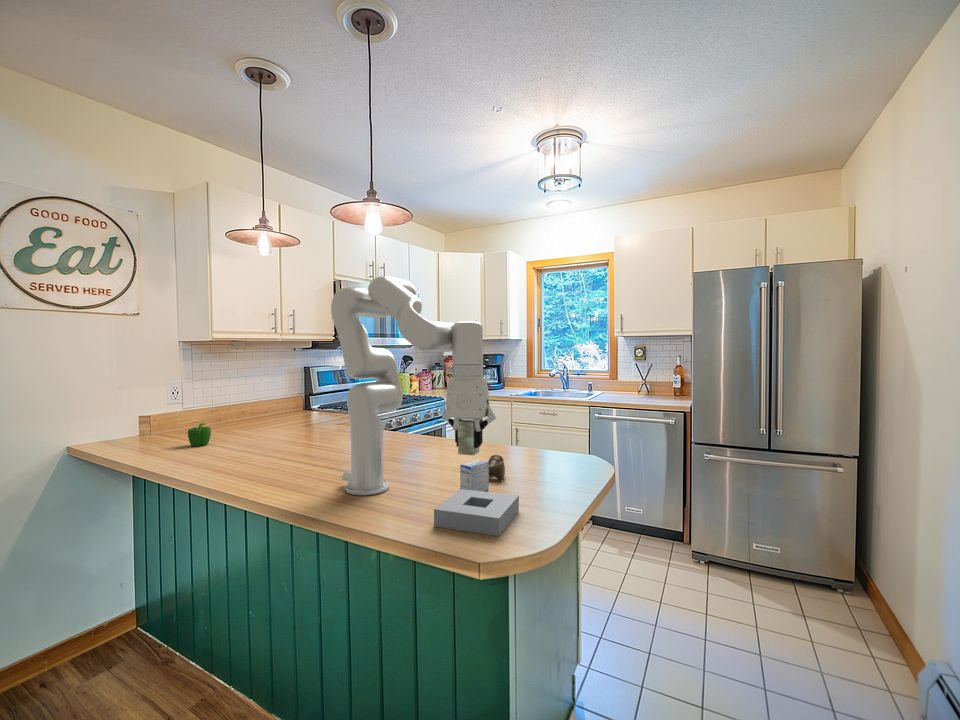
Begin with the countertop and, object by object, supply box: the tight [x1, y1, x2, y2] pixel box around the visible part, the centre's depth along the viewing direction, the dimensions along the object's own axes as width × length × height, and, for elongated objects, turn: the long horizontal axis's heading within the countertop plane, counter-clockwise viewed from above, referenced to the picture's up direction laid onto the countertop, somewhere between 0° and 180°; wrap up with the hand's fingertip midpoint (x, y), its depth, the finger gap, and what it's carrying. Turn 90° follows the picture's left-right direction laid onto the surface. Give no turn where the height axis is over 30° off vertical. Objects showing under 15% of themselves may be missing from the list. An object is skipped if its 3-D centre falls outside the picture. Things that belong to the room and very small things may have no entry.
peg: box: [457, 419, 480, 456], centre depth 107 cm, size 4×4×8 cm
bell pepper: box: [187, 422, 212, 447], centre depth 191 cm, size 8×8×10 cm
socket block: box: [433, 488, 520, 537], centre depth 106 cm, size 16×16×4 cm
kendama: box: [487, 454, 506, 481], centre depth 143 cm, size 6×10×20 cm
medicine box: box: [459, 459, 490, 492], centre depth 126 cm, size 8×4×9 cm, turn 141°
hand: (468, 445), depth 107 cm, fingers closed on peg, 4 cm apart
